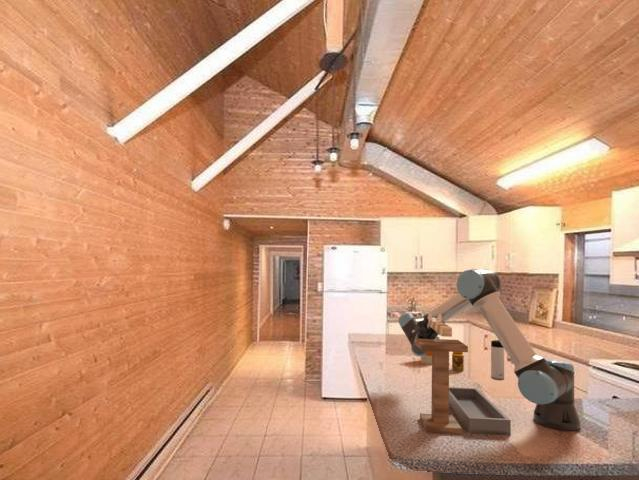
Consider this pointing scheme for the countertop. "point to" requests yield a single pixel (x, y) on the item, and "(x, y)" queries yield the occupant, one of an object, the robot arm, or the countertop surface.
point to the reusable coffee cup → (427, 356)
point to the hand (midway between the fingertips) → (435, 317)
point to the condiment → (457, 362)
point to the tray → (478, 412)
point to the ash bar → (441, 327)
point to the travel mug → (497, 360)
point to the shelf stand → (440, 385)
